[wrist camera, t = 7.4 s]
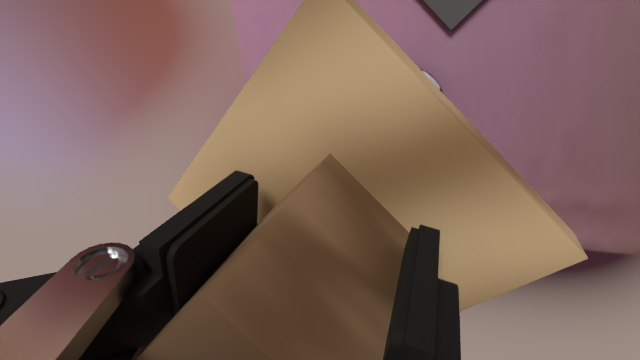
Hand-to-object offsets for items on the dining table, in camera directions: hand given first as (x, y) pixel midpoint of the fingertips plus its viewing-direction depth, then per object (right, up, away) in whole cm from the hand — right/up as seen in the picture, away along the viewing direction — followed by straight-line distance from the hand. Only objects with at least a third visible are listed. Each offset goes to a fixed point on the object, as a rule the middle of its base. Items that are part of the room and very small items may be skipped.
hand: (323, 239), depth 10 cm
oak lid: (+1, +1, +2) cm, 2 cm away
